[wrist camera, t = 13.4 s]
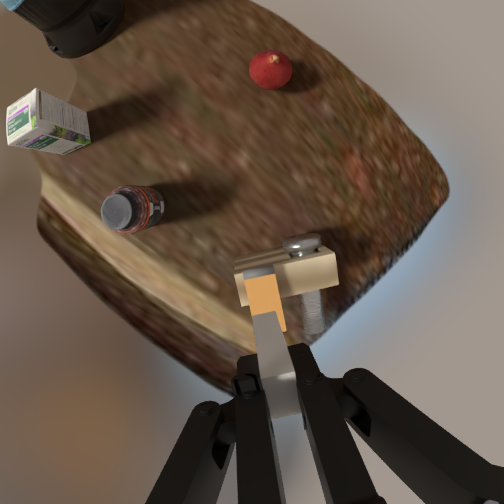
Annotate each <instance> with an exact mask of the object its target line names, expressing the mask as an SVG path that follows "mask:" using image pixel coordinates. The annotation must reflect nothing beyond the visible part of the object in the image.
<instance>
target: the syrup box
mask: <svg viewBox="0 0 504 504" xmlns="http://www.w3.org/2000/svg"><path fill="white" fill-rule="evenodd" d="M6 128H7V140H8V145H11V146H17V147H23V148H29V149H35V150H41V151H46V152H52V153H58V154H63V155H65V154H67V153H69V152H72V151H74V150H76V149H79V148H81V147H83V146H85V145H87V144H90V143H91V140H90V133H89V126H88V119H87V113H86V112H85V111H83V110H81V109H79V108H77V107H75V106H73V105H71V104H69V103H67V102H65V101H62V100H60V99H58V98H56V97H54V96H52V95H50V94H48V93H46V92H44V91H41V90H39V89H37V88H35V89H34V90H33V91H32V92H30V93H28V94H27V95H25V96H23V97H22V98H20V99H19V100H17V101H16V102H15V103H13V104H12V105H11V106H9V107H8V108H7V118H6Z"/></svg>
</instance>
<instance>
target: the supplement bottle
mask: <svg viewBox="0 0 504 504" xmlns="http://www.w3.org/2000/svg"><path fill="white" fill-rule="evenodd" d="M164 210H165V203H164V199H163V197H162V195H161V194H160V193H159V192H158V191H157V190H156V189H154V188H151V187H147V186H132V185H130V186H121V187H118V188H116V189H115V190H113V191H112V192H111V193H110V194H109V196H108V197H107V198H106V199H105V201H104V202H103V204H102V207H101V217H102V220H103V222H104V224H105V225H106V226H107V227H109V228H110V229H112V230H113V231H114V232H116V233H118V234H122V235H130V234H134V233H137V232H139V231H142V230H144V229H147V228H149V227H152V226H154V225H155V224H157V223H158V222H159V221H160V220H161V218H162V216H163V214H164Z"/></svg>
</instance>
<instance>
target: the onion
mask: <svg viewBox="0 0 504 504" xmlns="http://www.w3.org/2000/svg"><path fill="white" fill-rule="evenodd" d="M292 71H293V70H292V65H291V62H290V60H289V59H288V57H287V56H286V55H284V54H283V53H282V52H279V51H276V50H264V51H262V52H259V53H257V54H256V55H255V56H254V57H253V58H252V60H251V62H250V66H249V72H250V76H251V78H252V80H253V81H254V83H255V84H257V85H258V86H260V87H261V88H265V89H268V90H270V89H278V88H280V87H282V86H284V85H285V84H286V83H287V82H288V81H289V80H290V78H291V75H292Z"/></svg>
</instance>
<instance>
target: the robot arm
mask: <svg viewBox="0 0 504 504" xmlns="http://www.w3.org/2000/svg"><path fill="white" fill-rule="evenodd" d="M0 1H1V2H2V3H3V4H4V5H5V6H6V7H7V8H8V10H10V11H13V12H15V13H16V14H18V15H19V16H21V17H22V18H24V19H25V20H26V21H28V22H29V23H31V24H32V25H33V26H35V27H36V28H38V29H39V30H41V31H42V33H43V36H44V38H45V40H46V42H47V45H48V47H49V48H50V50H51V51H52V52H53V53H55V54H56V55H58V56H59V57H61V58H67V59H68V58H76V57H79V56H82V55H84V54H86V53H88V52H90V51H92V50H94V49H95V48H97V47H98V46H99V45H101V44H102V43H103V42H104V41H105V40H106V39H107V38H108V37H109V36H110V35H111V34H112V33H113V32H114V31H115V29H116V28H117V26H118V25H119V23H120V21H121V19H122V16H123V12H124V6H123V2H122V1H121V0H0ZM252 319H253V326H254V334H255V341H256V348H257V354H252V355H247V356H242V357H240V358H239V360H238V362H237V375H236V376H234V377H233V379H232V380H231V385H232V388H233V391H234V394H235V397H234V398H233V399H232V400H230V401H229V402H227V403H224V404H221V405H219V404H218V403H217V402H214V401H205V402H202V403H200V404H198V405H196V406H195V408H194V409H193V410H192V413H191V415H190V416H189V418H188V420H187V422H186V424H185V426H184V428H183V430H182V433H181V434H180V436H179V438H178V440H177V442H176V444H175V446H174V448H173V450H172V452H171V454H170V456H169V458H168V460H167V462H166V464H165V466H164V468H163V470H162V472H161V474H160V476H159V478H158V480H157V482H156V483H155V486H154V487H153V490H152V491H151V493H150V495H149V497H148V499H147V501H146V503H145V504H216V502H217V499H218V496H219V493H220V490H221V487H222V484H223V481H224V478H225V475H226V471H227V468H228V465H229V462H230V459H231V455H232V452H233V449H234V446H235V442H236V456H237V484H238V485H237V486H238V504H286V500H285V494H284V488H283V482H282V476H281V471H280V465H279V459H278V453H277V447H276V442H275V435H274V430H273V425H272V421H271V419H275V418H280V417H285V416H290V415H294V414H298V413H302V417H303V423H304V429H305V430H306V432H307V436H308V439H309V443H310V447H311V450H312V453H313V457H314V461H315V464H316V468H317V471H318V475H319V479H320V482H321V486H322V489H323V493H324V497H325V500H326V504H387V503H386V501H385V499H384V498H383V497H381V496H379V495H378V494H377V492H376V489H375V487H374V485H373V483H372V480H371V478H370V476H369V473H368V471H367V469H366V466H365V465H364V462H363V459H362V457H361V455H360V453H359V450H358V448H357V446H356V444H355V441H354V439H353V437H352V435H351V432H350V430H349V428H348V426H347V424H346V422H347V423H348V424H349V425H350V426H351V427H352V428H353V429H354V430H355V431H356V433H357V434H358V435H359V436H360V437H361V438H362V439H363V440H364V441H365V442H366V443H367V444H368V445H369V446H370V448H371V449H372V450H373V451H374V452H375V453H376V454H377V455H378V456H379V457H380V458H381V459H382V460H383V461H384V462H385V463H386V464H387V465H388V466H389V468H390V469H391V470H392V471H393V472H394V473H395V474H396V475H397V476H398V477H399V478H400V479H401V480H402V481H403V482H404V483H405V484H406V485H407V486H408V487H409V488H410V489H411V490H412V491H413V492H414V493H415V494H416V495H417V496H418V497H419V498H420V499H421V500H422V501H423V502H424V503H425V504H504V467H500V466H496V465H492V464H490V463H489V462H488V461H486V460H485V459H483V458H482V457H481V456H479V455H478V454H477V453H475V452H474V451H473V450H471V449H470V448H469V447H467V446H466V445H465V444H463V443H462V442H460V441H459V440H458V439H457V438H455V437H454V436H452V435H451V434H450V433H449V432H447V431H446V430H445V429H443V428H442V427H441V426H439V425H438V424H437V423H436V422H434V421H433V420H431V419H430V418H429V417H428V416H426V415H425V414H424V413H422V412H421V411H420V410H419V409H417V408H416V407H415V406H413V405H412V404H411V403H409V402H408V401H407V400H406V399H404V398H403V397H402V396H401V395H399V394H398V393H397V392H395V391H394V390H393V389H392V388H390V387H389V386H388V385H386V384H385V383H384V382H383V381H381V380H380V379H379V378H378V377H376V376H375V375H374V374H373V373H371V372H370V371H369V370H366V369H363V368H355V369H351V370H349V371H348V372H346V373H345V374H344V376H343V378H328V377H326V376H324V374H323V373H321V372H320V370H319V368H318V365H317V363H316V361H315V359H314V357H313V354H312V352H311V350H310V348H309V346H308V345H306V344H305V343H300V344H295V345H291V346H287V345H286V342H285V339H284V336H283V333H282V330H281V327H280V323H279V320H278V317H277V314H276V311H272V312H268V313H263V314H258V315H253V316H252ZM344 418H345V419H344ZM345 420H346V421H345Z"/></svg>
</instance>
